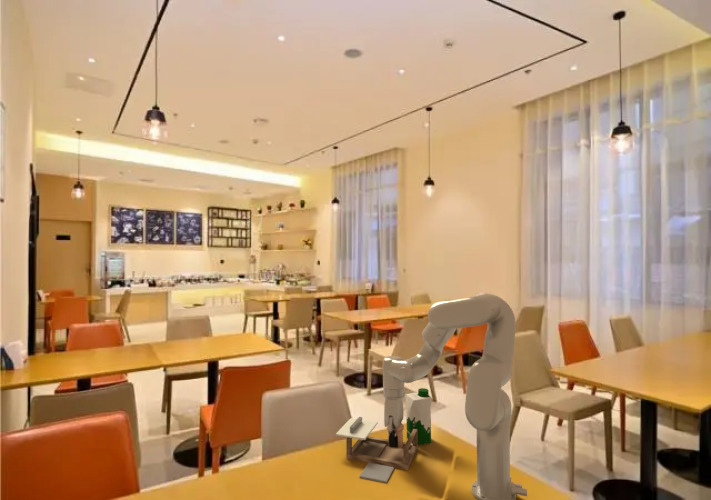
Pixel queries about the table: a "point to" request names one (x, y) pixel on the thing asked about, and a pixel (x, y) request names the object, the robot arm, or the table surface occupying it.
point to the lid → (357, 428)
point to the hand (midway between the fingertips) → (395, 442)
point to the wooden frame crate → (383, 451)
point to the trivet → (377, 472)
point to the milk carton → (419, 415)
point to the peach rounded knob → (399, 434)
